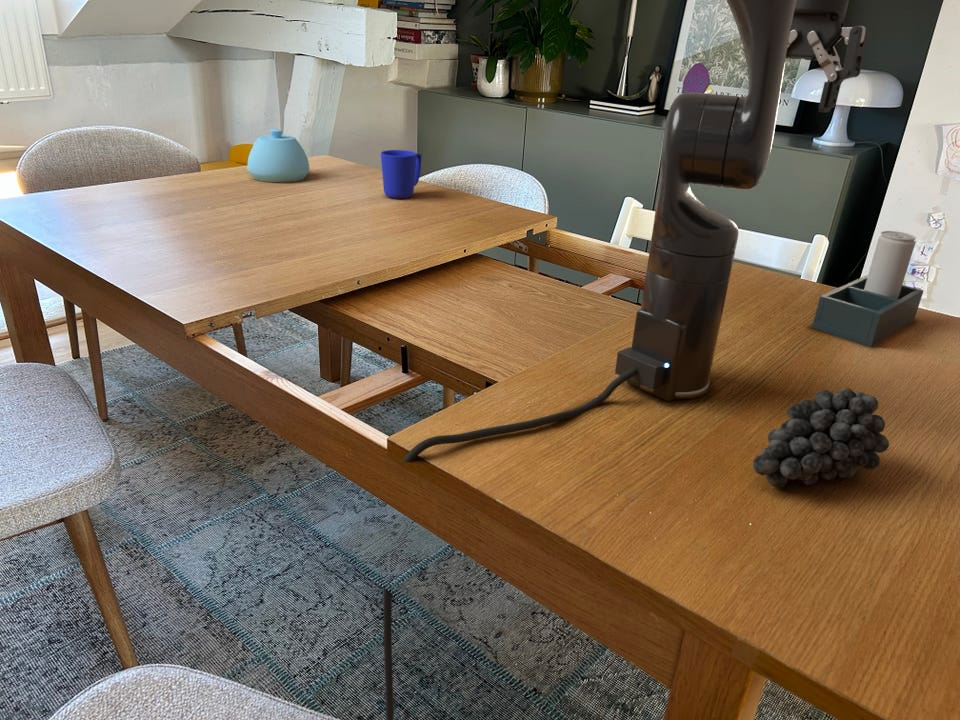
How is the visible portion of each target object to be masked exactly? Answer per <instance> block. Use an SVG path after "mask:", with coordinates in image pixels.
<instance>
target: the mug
mask: <svg viewBox="0 0 960 720" xmlns="http://www.w3.org/2000/svg"><path fill="white" fill-rule="evenodd" d="M380 160H381V161H380V162H381V163H380V164H381V173H382V184H383V185H382V186H383V193H384V195H385V196H386V197H387V198H390V199H396V200H401V199H409V198H411V197H413V195H414V190H415V187H416V186H417V185H418V183H419V180H420V177H421V170H422V169H421V168H422V153H420V152H414V151H411V150H404V149H391V150H390V149H389V150H383V151H381V152H380Z"/></svg>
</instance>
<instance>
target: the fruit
mask: <svg viewBox="0 0 960 720" xmlns="http://www.w3.org/2000/svg"><path fill="white" fill-rule="evenodd" d="M878 409H879V400H878V399H877V398H876V397H875V396H873V395H871V394H868V393H866V394H865V392H863V391H855V392H854V391H853V390H852V388H840V389H839V390H838V391H837V392H836V393H835V394H833V392H831V391H830V390H828V389H820V390H818V391H817V392H816V393H815V395H814V398H813V400H811V399H809V398H808V399H807V398H806V399H803V400H801V401H800V402H795V403H792V404H790V405H789V406H788V408H787V411H786V415H787V417H788V418H789V419H788V420H786V421H784V422H782V423H781V425H780V427H779V428H773V429H772V430H770V432H769V433H768V435H767V441H768V445H767V446H766V447H765V448H763V449H762V450H761V451H760V453H759V455H757V456H756V457H755V458H754V459H753V461H752V469H753V470H754V472H755V473H757V474H758V475H760V476H766V481H767V483H769V484H770V486H773V487H776V488H782V487H784V486H786V485H787V483H788V480H789V479H790V480H796V479H797V480H799V481H801V483H803V484H804V485H806V486H813V485H815V484H816V483H817V482H818V481H819V476H820V478H821V479H822V480H826V481H831V480H834V479H836V477H837V476H838V477H839V478H841V479H851V478H853V477H854V476H855V474H856V473H857V469H858V468H859V469H860V468H862V469H865V470H869V471H872V470H873V471H874V470H875V469H877V468H878V467H879V465H880V464H881V461H880V459H881V458H880V456H879V454H880V453H881V454H882V453H884V452H886V451H887V450H888V448H890V447H889V446H890V441H889V439H888V438H887V436H886V435H885V434H882V433H883V431H885V428H886V421H885V420H884V418H883V417H882V416H880V415H878V414H873V413H875V412H876V411H877V410H878ZM878 453H879V454H878Z"/></svg>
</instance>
